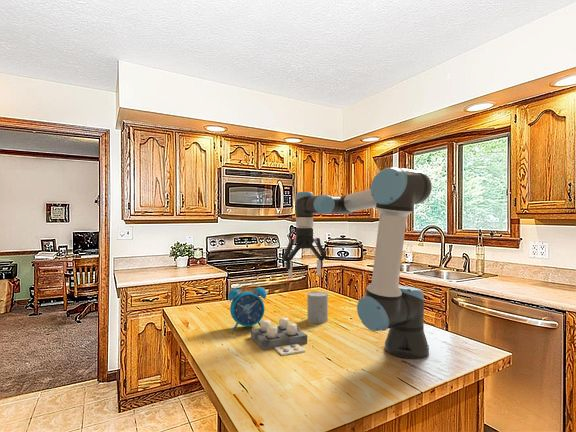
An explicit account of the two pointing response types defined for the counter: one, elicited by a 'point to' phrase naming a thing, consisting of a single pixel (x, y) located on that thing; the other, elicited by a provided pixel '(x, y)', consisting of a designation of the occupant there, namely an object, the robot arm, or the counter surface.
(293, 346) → the card
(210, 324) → the counter surface
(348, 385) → the counter surface
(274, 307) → the counter surface
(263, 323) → the button
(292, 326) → the button
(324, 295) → the speckled white tin can
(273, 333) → the button
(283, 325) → the button
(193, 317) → the counter surface
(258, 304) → the alarm clock
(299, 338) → the button board
